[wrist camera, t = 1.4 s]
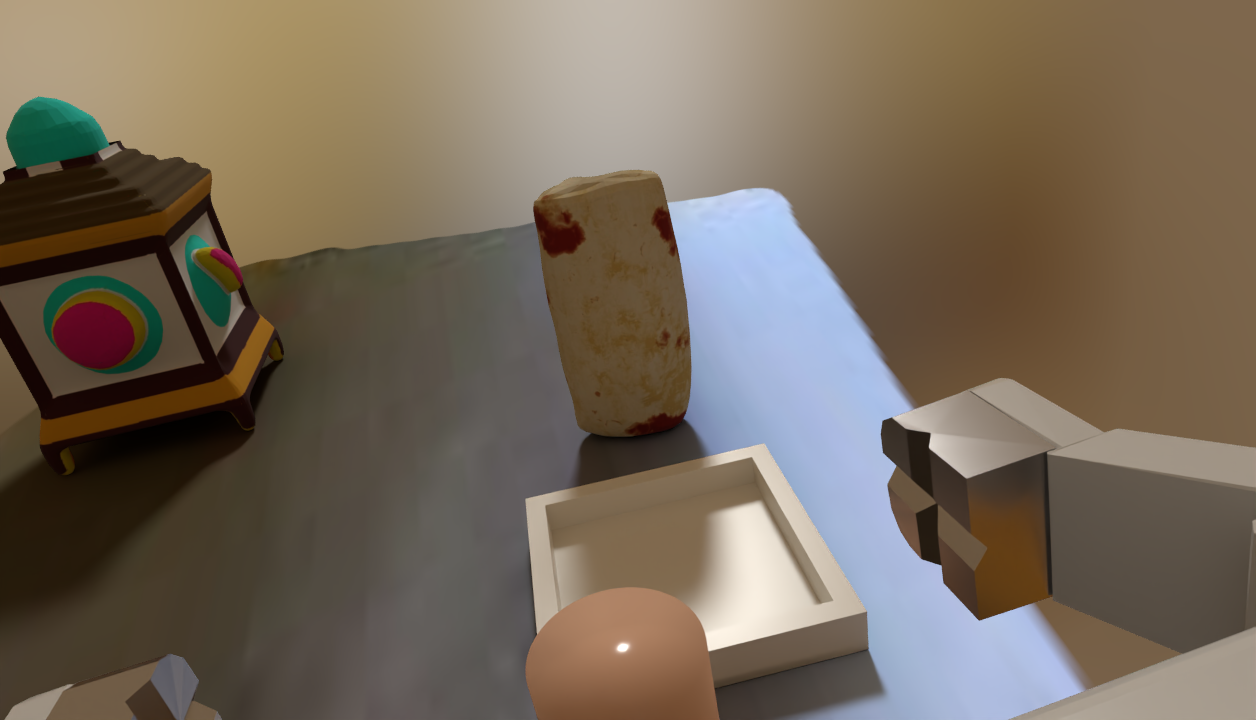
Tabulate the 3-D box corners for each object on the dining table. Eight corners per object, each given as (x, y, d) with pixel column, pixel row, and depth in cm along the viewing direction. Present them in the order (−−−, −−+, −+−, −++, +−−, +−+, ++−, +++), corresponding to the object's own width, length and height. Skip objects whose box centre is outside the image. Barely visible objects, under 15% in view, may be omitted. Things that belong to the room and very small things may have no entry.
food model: (578, 459, 60) (519, 197, 51) (578, 414, 66) (524, 173, 57) (708, 437, 60) (671, 170, 51) (696, 394, 66) (661, 148, 57)
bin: (552, 729, 39) (542, 693, 38) (533, 529, 54) (525, 499, 52) (868, 649, 40) (866, 611, 39) (767, 474, 55) (764, 443, 54)
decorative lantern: (114, 391, 87) (-31, 105, 74) (301, 347, 90) (193, 63, 77) (33, 493, 70) (-177, 142, 56) (269, 435, 72) (121, 85, 59)
